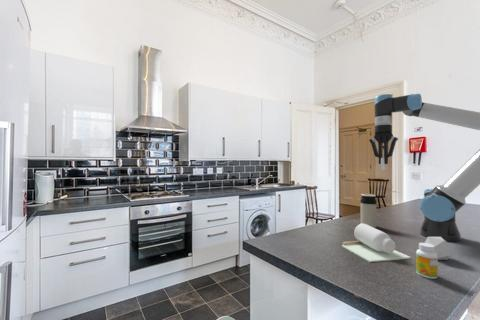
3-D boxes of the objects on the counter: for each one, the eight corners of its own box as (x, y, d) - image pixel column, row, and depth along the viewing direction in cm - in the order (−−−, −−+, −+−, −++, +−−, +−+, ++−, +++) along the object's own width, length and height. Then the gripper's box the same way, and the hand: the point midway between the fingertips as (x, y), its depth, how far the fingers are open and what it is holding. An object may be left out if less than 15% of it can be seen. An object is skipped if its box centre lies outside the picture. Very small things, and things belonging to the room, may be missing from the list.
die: (456, 267, 81) (461, 242, 84) (431, 253, 82) (438, 229, 85) (437, 265, 88) (443, 243, 91) (415, 253, 90) (421, 231, 93)
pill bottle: (371, 231, 103) (402, 246, 88) (359, 243, 102) (388, 261, 87) (362, 219, 101) (392, 232, 87) (350, 231, 100) (377, 247, 86)
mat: (341, 246, 98) (341, 245, 98) (377, 243, 102) (377, 242, 102) (369, 262, 83) (369, 260, 83) (411, 258, 86) (411, 257, 86)
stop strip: (342, 245, 100) (342, 241, 100) (373, 243, 103) (373, 239, 103) (343, 246, 99) (343, 242, 99) (375, 243, 102) (375, 240, 102)
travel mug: (363, 227, 127) (363, 195, 128) (358, 224, 135) (358, 193, 136) (379, 228, 126) (378, 195, 126) (373, 224, 134) (373, 194, 134)
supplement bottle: (411, 271, 76) (411, 241, 76) (426, 270, 76) (426, 241, 77) (426, 279, 71) (426, 247, 71) (442, 278, 71) (442, 247, 71)
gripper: (366, 125, 121) (367, 170, 121) (395, 122, 111) (395, 170, 111) (372, 127, 126) (372, 170, 126) (400, 124, 116) (400, 170, 116)
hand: (383, 170), depth 118 cm, fingers closed
